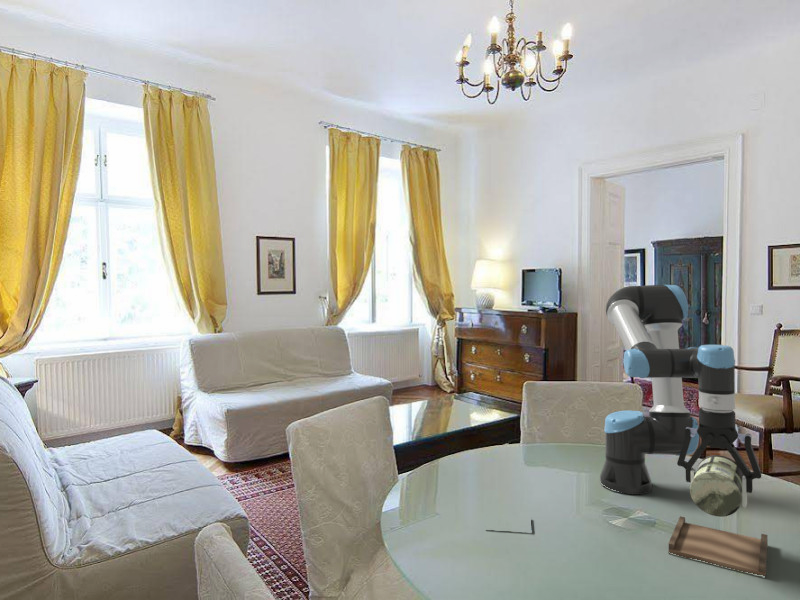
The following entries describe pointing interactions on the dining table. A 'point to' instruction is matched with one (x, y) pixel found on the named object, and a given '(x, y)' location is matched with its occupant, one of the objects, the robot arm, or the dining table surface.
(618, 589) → the dining table surface
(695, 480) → the coffee can
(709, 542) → the cradle
